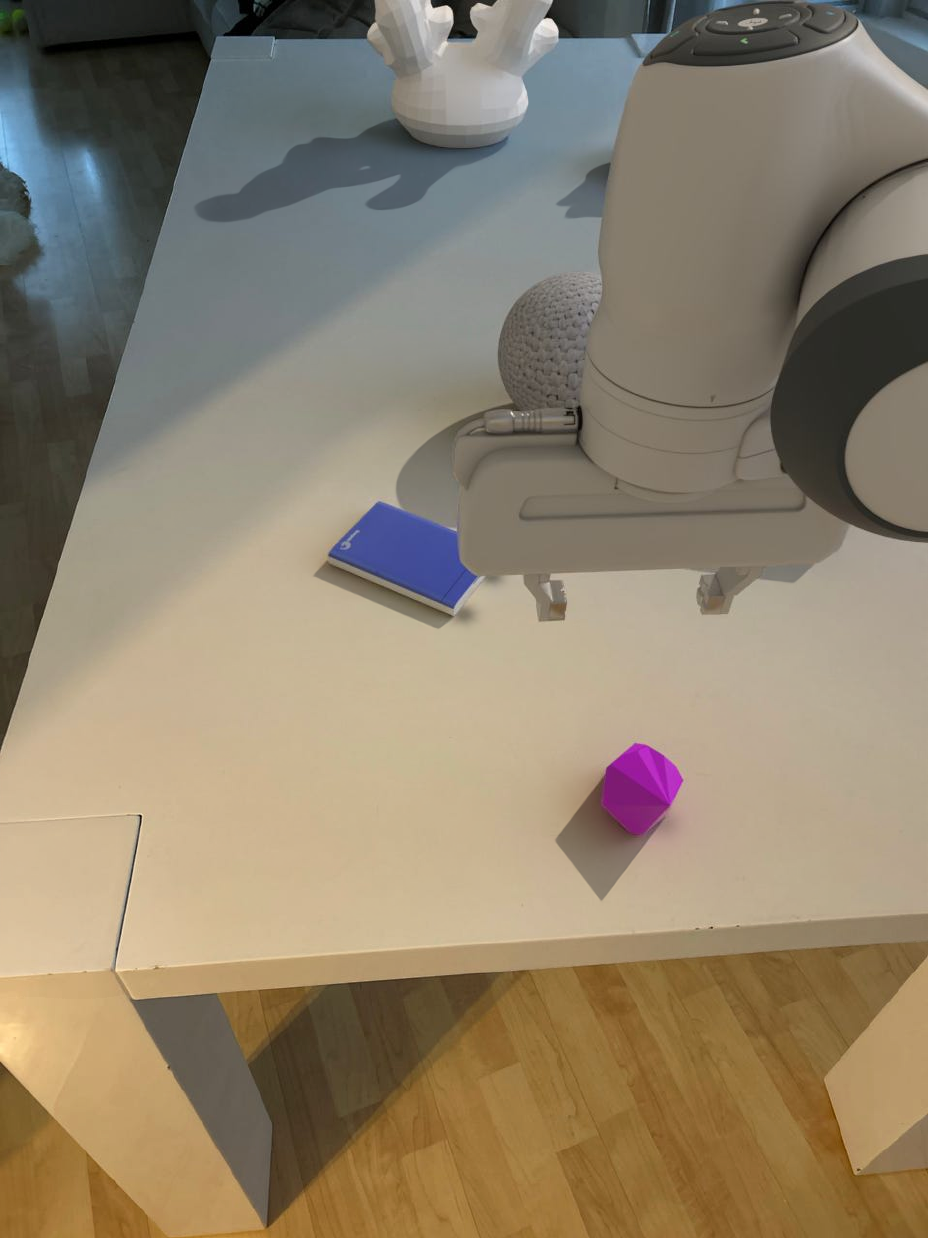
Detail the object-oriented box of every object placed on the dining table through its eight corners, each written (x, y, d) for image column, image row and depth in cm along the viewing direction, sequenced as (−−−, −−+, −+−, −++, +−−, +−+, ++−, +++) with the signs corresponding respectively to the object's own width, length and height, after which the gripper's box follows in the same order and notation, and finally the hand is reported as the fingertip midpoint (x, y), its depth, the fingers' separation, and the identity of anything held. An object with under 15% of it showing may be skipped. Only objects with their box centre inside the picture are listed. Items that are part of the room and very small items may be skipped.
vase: (371, 159, 142) (357, -136, 116) (370, 106, 157) (357, -166, 132) (561, 157, 144) (588, -134, 118) (542, 105, 159) (562, -163, 134)
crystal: (681, 790, 67) (694, 752, 63) (656, 851, 63) (668, 815, 60) (612, 762, 68) (621, 723, 65) (584, 820, 65) (592, 783, 62)
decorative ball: (537, 478, 90) (551, 337, 79) (470, 397, 100) (473, 260, 89) (669, 440, 95) (699, 301, 84) (593, 366, 104) (610, 232, 93)
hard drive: (327, 551, 81) (453, 605, 77) (379, 498, 85) (500, 546, 82) (328, 565, 82) (453, 618, 78) (380, 511, 87) (499, 559, 83)
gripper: (456, 454, 42) (454, 659, 52) (906, 440, 43) (818, 643, 53) (448, 375, 46) (447, 578, 56) (857, 364, 47) (784, 566, 57)
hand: (630, 610), depth 55 cm, fingers open, 8 cm apart
